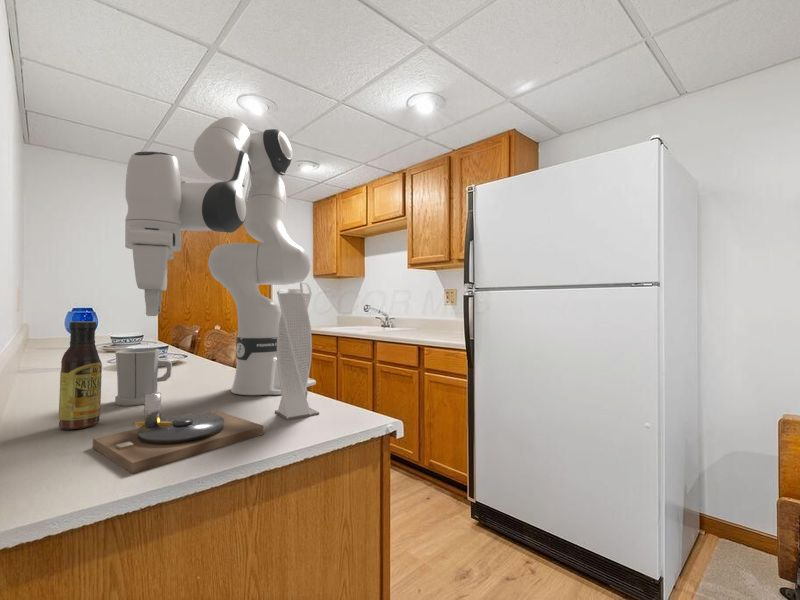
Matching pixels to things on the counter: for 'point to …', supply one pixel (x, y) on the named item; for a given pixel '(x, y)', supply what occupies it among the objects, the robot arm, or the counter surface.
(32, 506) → the counter surface
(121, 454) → the stand
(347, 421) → the counter surface
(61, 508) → the counter surface
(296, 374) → the skyscraper
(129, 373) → the cup
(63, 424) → the sauce bottle
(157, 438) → the dial
